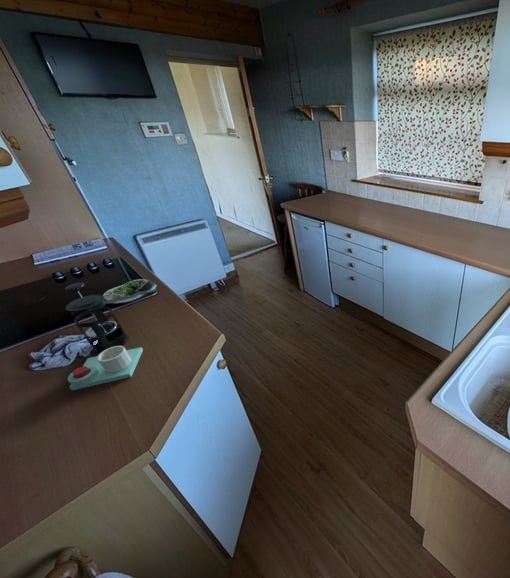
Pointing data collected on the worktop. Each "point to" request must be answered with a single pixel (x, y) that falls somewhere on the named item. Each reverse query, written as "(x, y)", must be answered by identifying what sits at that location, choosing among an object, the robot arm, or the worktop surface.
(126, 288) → the salad plate
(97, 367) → the scale
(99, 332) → the french press
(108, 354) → the bowl
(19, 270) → the worktop surface
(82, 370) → the tare button
